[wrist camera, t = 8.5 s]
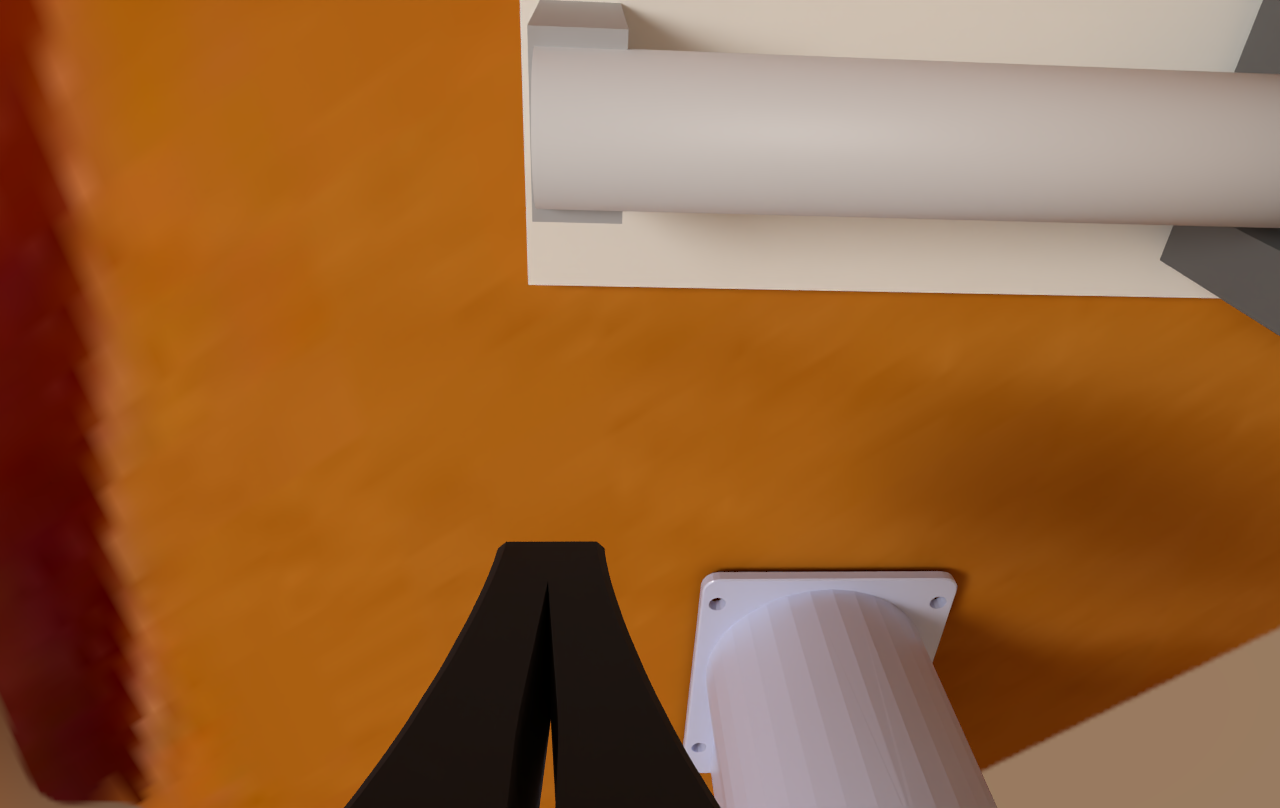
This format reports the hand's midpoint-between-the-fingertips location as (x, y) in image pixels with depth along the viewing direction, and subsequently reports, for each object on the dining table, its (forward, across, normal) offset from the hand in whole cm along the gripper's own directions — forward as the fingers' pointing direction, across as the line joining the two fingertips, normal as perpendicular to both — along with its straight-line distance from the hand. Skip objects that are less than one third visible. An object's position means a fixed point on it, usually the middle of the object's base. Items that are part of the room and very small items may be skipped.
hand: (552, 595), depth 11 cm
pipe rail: (+10, -10, -5) cm, 15 cm away
